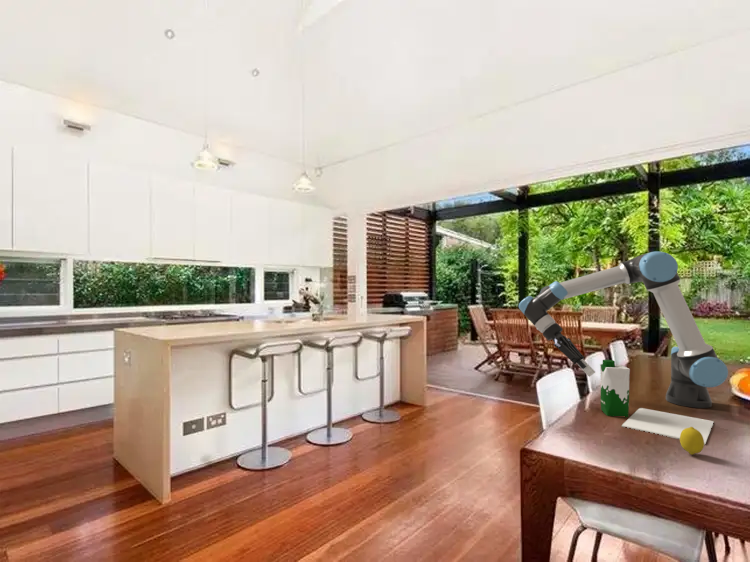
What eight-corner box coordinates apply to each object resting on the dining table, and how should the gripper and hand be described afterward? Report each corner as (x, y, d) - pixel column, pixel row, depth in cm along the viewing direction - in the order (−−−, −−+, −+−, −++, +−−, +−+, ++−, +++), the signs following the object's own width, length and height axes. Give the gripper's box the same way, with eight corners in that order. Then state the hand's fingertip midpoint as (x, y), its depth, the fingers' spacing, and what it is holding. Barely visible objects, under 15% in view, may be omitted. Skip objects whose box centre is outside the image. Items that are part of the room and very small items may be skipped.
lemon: (675, 452, 121) (675, 425, 121) (687, 449, 123) (687, 422, 123) (696, 460, 116) (696, 431, 116) (708, 456, 118) (708, 428, 118)
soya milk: (597, 409, 162) (598, 358, 162) (623, 411, 160) (623, 359, 160) (605, 416, 153) (605, 362, 153) (632, 418, 151) (632, 363, 151)
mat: (713, 422, 147) (713, 421, 147) (705, 444, 127) (705, 443, 127) (639, 408, 163) (639, 407, 163) (621, 426, 142) (621, 425, 142)
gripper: (548, 332, 180) (590, 377, 168) (536, 335, 170) (579, 383, 159) (561, 321, 176) (604, 366, 164) (549, 323, 167) (594, 371, 155)
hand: (592, 374), depth 162 cm, fingers closed
